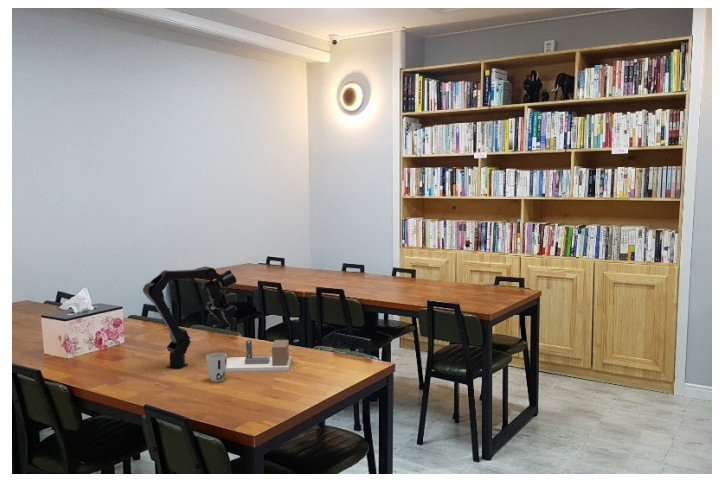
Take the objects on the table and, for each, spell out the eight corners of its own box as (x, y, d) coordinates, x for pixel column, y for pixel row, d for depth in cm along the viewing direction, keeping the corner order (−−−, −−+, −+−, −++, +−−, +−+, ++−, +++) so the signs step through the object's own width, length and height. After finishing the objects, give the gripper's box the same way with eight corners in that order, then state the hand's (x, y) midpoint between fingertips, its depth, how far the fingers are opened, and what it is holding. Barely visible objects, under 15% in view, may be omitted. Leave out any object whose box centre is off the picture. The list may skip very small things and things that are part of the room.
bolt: (245, 362, 261) (244, 342, 260) (246, 360, 264) (245, 340, 263) (268, 362, 261) (268, 341, 260) (269, 360, 264) (269, 340, 263)
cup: (217, 384, 238) (217, 359, 237) (202, 381, 242) (201, 356, 241) (231, 378, 245) (231, 354, 244) (216, 375, 249) (215, 351, 248)
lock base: (216, 371, 254) (216, 349, 253) (223, 360, 270) (223, 339, 269) (288, 370, 255) (288, 348, 254) (291, 359, 271) (291, 338, 270)
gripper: (241, 288, 268) (251, 318, 273) (221, 282, 282) (231, 311, 287) (219, 299, 262) (231, 330, 267) (200, 293, 276) (211, 322, 281)
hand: (226, 323), depth 276 cm, fingers open, 9 cm apart
